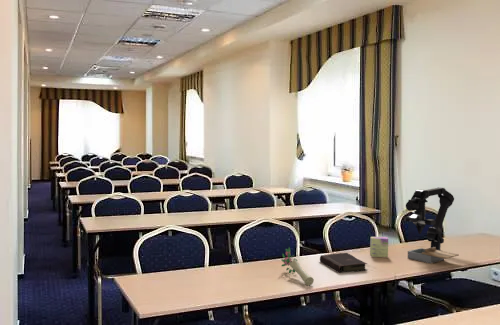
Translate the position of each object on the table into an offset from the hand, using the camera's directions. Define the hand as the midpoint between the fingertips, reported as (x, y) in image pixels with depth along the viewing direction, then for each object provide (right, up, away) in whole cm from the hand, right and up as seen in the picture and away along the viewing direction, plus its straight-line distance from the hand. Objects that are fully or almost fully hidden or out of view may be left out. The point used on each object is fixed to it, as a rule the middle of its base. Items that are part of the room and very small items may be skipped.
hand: (419, 233), depth 328 cm
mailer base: (0, -14, -12) cm, 18 cm away
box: (-27, -13, -5) cm, 31 cm away
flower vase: (-83, -16, -52) cm, 99 cm away
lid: (+6, -10, -20) cm, 23 cm away
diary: (-54, -15, -29) cm, 63 cm away
